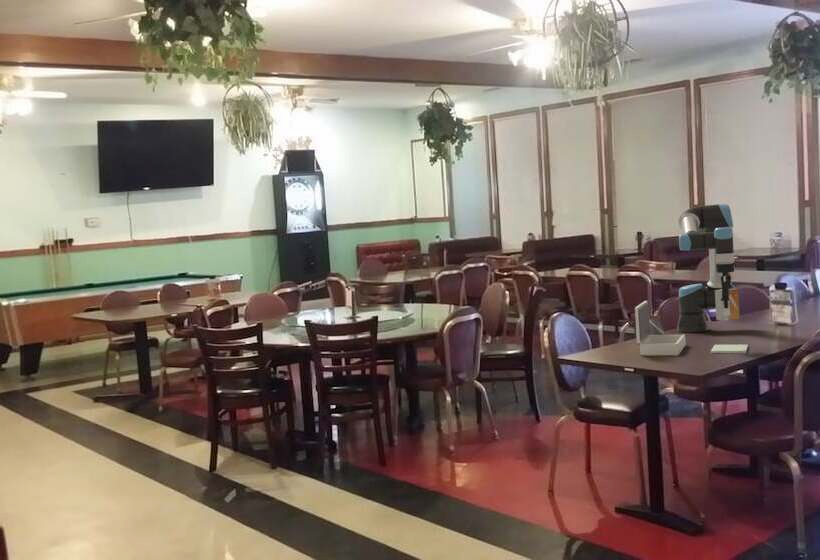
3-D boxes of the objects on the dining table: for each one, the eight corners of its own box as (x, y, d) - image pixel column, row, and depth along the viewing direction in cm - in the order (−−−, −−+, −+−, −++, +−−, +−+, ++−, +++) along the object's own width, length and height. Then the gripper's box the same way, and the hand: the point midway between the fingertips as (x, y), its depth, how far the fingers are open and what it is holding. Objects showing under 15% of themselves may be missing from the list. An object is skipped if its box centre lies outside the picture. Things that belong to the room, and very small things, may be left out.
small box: (728, 320, 355) (727, 290, 354) (715, 319, 360) (714, 290, 359) (740, 318, 359) (738, 288, 358) (727, 317, 365) (725, 288, 364)
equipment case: (647, 345, 389) (645, 300, 388) (685, 344, 382) (683, 299, 380) (637, 355, 366) (634, 307, 364) (678, 355, 358) (675, 306, 357)
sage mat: (714, 346, 371) (714, 344, 371) (748, 346, 365) (747, 344, 365) (710, 353, 357) (710, 351, 357) (745, 353, 351) (745, 350, 350)
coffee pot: (663, 345, 384) (661, 313, 383) (639, 345, 391) (637, 314, 390) (676, 338, 402) (674, 307, 401) (652, 338, 408) (650, 308, 407)
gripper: (718, 261, 370) (721, 310, 371) (713, 265, 349) (716, 317, 351) (736, 260, 366) (738, 310, 368) (732, 264, 346) (735, 317, 348)
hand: (727, 313), depth 359 cm, fingers closed on small box, 10 cm apart
